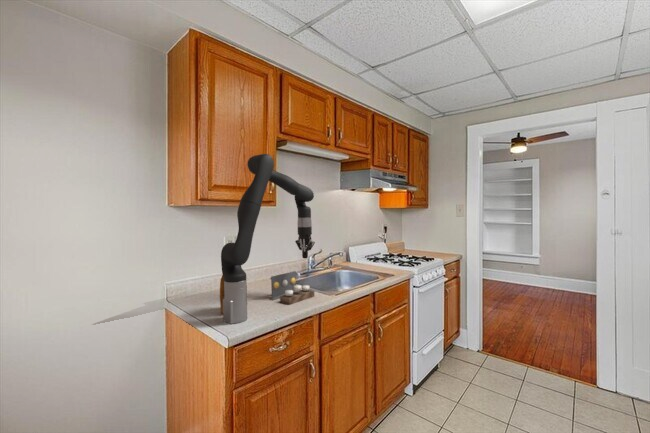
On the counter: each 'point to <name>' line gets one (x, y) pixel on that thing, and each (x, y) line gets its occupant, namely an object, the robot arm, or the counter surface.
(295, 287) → the button mid
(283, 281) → the pattern card
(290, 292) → the button near
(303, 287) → the button far
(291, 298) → the button board
